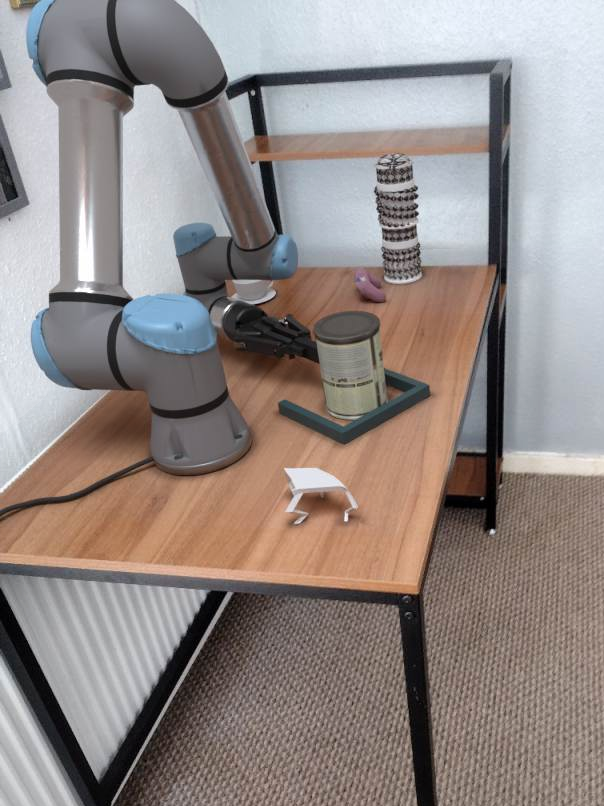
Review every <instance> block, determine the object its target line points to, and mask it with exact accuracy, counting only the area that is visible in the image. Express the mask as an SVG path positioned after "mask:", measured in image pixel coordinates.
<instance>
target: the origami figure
mask: <svg viewBox="0 0 604 806" xmlns="http://www.w3.org/2000/svg"><path fill="white" fill-rule="evenodd" d="M283 470H284V474H285V480H286V482H287V485H288V487H289V489H290V490H291V493H292V499H291V500H290V503H289V504H288V506H287V508H286V509H285V511H284V513H285V514H292V515H293V514H294V515H300V516H299V517H298V518H297V519H296V520H295V521H294V522H293V525H299V524H301V523H302V522H303V521H304V520H305V519H306V517H307V516H308V515H309V513H308V512H306V511H302V510H299V509H295V508H296V507H297V505H298V504H299V502H300V500H301V498H302V496H303V495H304V494H307V493H308V494H309V493H319V496H320V498H322V499H324V498H325V495H324V493H325V492H336V491H337V492H338V491H339V492H340V491H344V493H345V495H346V496H347V499H348V500H349V502H350V505H351V507H349V508H347V509H346V510H344V520H343V521H344V522H346V523H347V522H349V513H351V512H353V511H355V510H356V509H358V507H359V505H358V504H357V502H356V499H355V498H354V497H353V496H354V495H352V493H351V492H350V491H349V488H348V487H347V486H346V485H344V484H343V483H342V482H341V481H340V480H339V478H337V477H336V476H334V475H333V474H330V473H329V472H327V471H324V470H323V469H320V468H319V467H283Z"/></svg>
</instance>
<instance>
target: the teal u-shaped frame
mask: <svg viewBox="0 0 604 806" xmlns="http://www.w3.org/2000/svg"><path fill="white" fill-rule="evenodd" d="M384 374H385V384H386V386H390V387H392V388H394V389H397V390H399V391H402V393H401V394H399V395H398V396H396V397H394V398H392V399H390V400H388V402H387V403H385V404H383V405H381V406H380V407H378V408H376V409H374V410H372V411H371V412H369V413H367V414H365V415H363V416H361V417H360V418H358V419H356V420H351V422H349V423H347V424H345V425H341V424H340V423H337V422H335V421H333V420H331V419H329V418H326V417H325V416H322V415H320V414H318V413H315V412H313V411H312V410H309V409H307V408H305V407H302V406H300V405H298V404H297V403H294V402H292V401H290V400H287V399H285V398H284V399H282V400H280V401H278V402H277V406H278V412H279V414H280V415H282V416H284V417H286V418H288V419H291V420H292V421H294V422H297V423H299V424H300V425H303V426H305V427H306V428H309V429H311V430H313V431H316V432H317V433H319V434H321V435H323V436H325V437H327V438H330V439H332V440H334V441H336V442H338V443H340V444H342V445H346V444H349V442H352V441H353V440H355V439H357V438H359V437H360V436H362V435H363V434H366V433H367V432H369V431H371V430H373V429H374V428H376V427H378V426H380V425H381V424H383V423H385V422H387V421H388V420H391V419H392V418H393V417H396V416H397V415H399V414H400V413H403V412H404V411H406V410H408V409H409V408H412V407H414V406H415V405H417V404H418V403H420V402H422V401H424V400H425V399H427V398H429V397H430V396H431V389H430V384H429V383H426V382H423V381H420V380H418V379H416V378H415V379H414V378H412V377H409V376H407V375H404V374H402V373H398V372H397V371H394V370H391V369H388V368H385V367H384Z"/></svg>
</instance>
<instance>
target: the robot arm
mask: <svg viewBox="0 0 604 806" xmlns="http://www.w3.org/2000/svg"><path fill="white" fill-rule="evenodd" d="M25 41H26V49H27V55H28V58H29V59H30V60H32V66H31V67H32V69H33V71H34V73H35V75H36V76H37V78H38V79H39V80H40V82H42V84H43V85H44V86H45V87H46V90H45V91H46V94H47V96H48V97H49V98H50V99H51V100H52V101H53V103H54V104H55V105H56V106H57V108H58V110H57V112H58V202H59V203H58V205H59V212H58V213H59V281H58V283H57V284H56V285H55V286H54V287H52V288H51V289H50V290H49V291H48V307H45V308H44V309H41V310H40V311H39V312H37V314H36V315H35V319H34V320H33V321H32V322H31V327H30V345H31V350H32V353H33V356H34V358H35V361H36V363H37V366H38V367H39V369H40V370H41V371H42V372H43V373H44V375H45V377H46V378H48V379H49V380H50V381H51V382H52V383H54V384H55V385H56V386H60V387H63V388H67V389H77V390H81V391H93V390H96V391H97V390H98V391H123V392H124V391H125V392H126V391H129V392H130V391H131V392H144V393H145V395H146V398H147V401H148V404H149V405H148V406H149V408H150V411H151V425H150V440H149V441H150V442H149V443H150V444H149V446H150V454H151V456H148V457H147V458H144V459H142V460H140V461H138V462H136V463H134V464H131V465H129V466H126V467H125V468H123V469H121V470H119V471H116V472H114V473H112V474H110V475H108V476H105V477H104V478H102V479H100V480H98V481H96V482H95V483H93V484H91V485H89V486H87V487H85V488H83V489H81V490H79V491H76V492H73V493H71V494H70V493H69V494H67V495H61V496H49V497H48V496H47V497H39V498H35V499H30V500H26V501H23V502H19V503H15V504H12V505H9V506H5V507H4V508H2V509H0V518H1V517H2V516H4V515H5V514H8V513H10V512H12V511H15V510H19V509H23V508H26V507H30V506H34V505H38V504H47V503H59V502H65V501H66V502H67V501H71V500H74V499H77V498H79V497H82V496H84V495H86V494H88V493H90V492H92V491H94V490H95V489H98V488H99V487H102V486H103V485H105V484H107V483H109V482H111V481H113V480H115V479H117V478H120V477H122V476H123V475H125V474H128V473H130V472H132V471H134V470H137V469H138V468H141V467H143V466H145V465H147V464H149V463H154V465H155V466H156V467H157V469H159V470H161V471H163V472H165V473H167V474H172V475H176V476H177V475H178V476H195V475H203V474H207V473H212V472H215V471H219V470H221V469H223V468H226V467H229V466H230V465H232V464H233V463H236V462H237V461H239V459H241V458H242V457H244V455H246V453H247V452H248V451H249V450H250V449H251V446H252V442H253V438H252V432H251V429H250V426H249V424H248V423H247V421H246V419H245V418H244V416H243V415H242V412H240V409H239V408H238V407H237V405H236V403H235V401H233V398H231V396H230V392H229V388H228V384H227V379H226V376H225V375H226V374H225V370H224V365H223V361H222V357H221V353H220V352H221V351H220V348H219V344H218V337H222V338H223V339H226V340H229V341H231V342H232V343H234V347H235V351H236V352H239V353H240V352H241V353H242V352H245V353H252V354H257V355H262V356H265V357H271V358H275V359H283V358H284V357H285V355H287V356H288V360H291V361H292V360H295V359H296V357H298V358H300V359H305V360H306V359H307V360H308V361H311V362H313V363H315V364H318V365H320V364H319V358H318V352H317V346H316V340H313V338H312V332H311V329H309V328H308V327H306V326H305V325H304V324H302V323H301V322H300V321H299V320H297V319H296V318H294V315H293V313H287V314H286V315H285V317H283V318H282V319H279V318H278V317H277V316H269V315H268V314H267V313H266V311H265V310H264V309H262V308H261V307H259V306H258V305H256V304H249V303H246V302H245V301H242V300H239V299H236V298H233V297H232V296H230V295H229V294H228V289H227V286H226V285H227V282H226V281H232V280H268V281H270V282H272V281H281V280H289V279H291V278H293V277H294V276H295V274H296V272H297V269H298V264H299V252H298V246H297V242H296V241H295V239H294V238H292V236H291V235H287V234H286V235H285V234H283V233H281V234H278V232H277V230H276V228H275V225H274V223H273V220H272V217H271V215H270V211H269V208H268V207H267V203H266V200H265V198H264V195H263V192H262V190H261V187H260V184H259V181H258V179H257V176H256V173H255V170H254V168H253V164H252V162H251V159H250V155H249V153H248V150H247V149H246V145H245V142H244V139H243V137H242V134H241V131H240V128H239V125H238V123H237V120H236V117H235V114H234V111H233V109H232V105H231V103H230V100H229V98H228V95H227V92H226V91H227V89H228V86H229V77H228V74H227V71H226V69H225V65H224V63H223V61H222V58H221V56H220V54H219V52H218V51H217V49H216V47H215V45H214V42H212V40H211V38H210V37H209V36H208V34H207V33H206V31H205V29H204V28H203V27H202V25H200V24H199V22H198V21H197V20H196V19H195V17H194V16H193V15H192V14H191V13H190V12H189V11H188V10H187V9H186V8H184V6H182V5H181V4H180V3H179V2H177V0H40V1H38V2H37V3H36V4H35V5H34V7H33V8H32V10H31V12H30V13H29V17H28V19H27V24H26V31H25ZM149 85H153V86H155V87H157V88H158V89H159V90H160V91H161V93H162V96H163V98H164V100H165V103H166V104H167V105H168V106H169V107H170V108H172V109H175V110H177V112H178V114H179V117H180V119H181V121H182V124H183V126H184V129H185V131H186V133H187V135H188V138H189V140H190V143H191V145H192V148H193V150H194V152H195V155H196V157H197V159H198V161H199V163H200V166H201V168H202V170H203V173H204V176H205V178H206V180H207V182H208V185H209V187H210V189H211V192H212V194H213V197H214V198H215V201H216V203H217V205H218V208H219V211H220V213H221V214H222V217H223V220H224V222H225V224H226V226H227V230H228V231H229V234H230V236H229V235H228V236H227V235H226V236H225V235H224V236H223V235H222V236H217V232H215V231H216V230H215V228H214V227H213V225H212V224H211V223H208V222H207V223H206V222H193V223H187V224H184V225H181V226H180V227H178V228H176V230H175V231H174V232H173V236H172V239H173V243H174V249H175V257H176V258H177V263H178V266H179V269H180V273H181V277H182V281H183V284H184V292H183V294H179V293H170V292H169V293H168V292H167V293H165V292H164V293H163V292H161V293H156V294H155V295H150V294H148V295H143V296H139V297H136V298H134V297H132V295H130V293H129V292H128V291H127V290H126V289H125V287H124V253H123V252H124V140H123V139H124V117H125V116H127V114H128V113H130V112H131V111H133V109H134V106H135V87H139V86H149Z"/></svg>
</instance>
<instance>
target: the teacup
mask: <svg viewBox="0 0 604 806" xmlns="http://www.w3.org/2000/svg"><path fill="white" fill-rule="evenodd" d="M231 281H232V284H233V287H234V289H235V293H234V294H233V295H231V297H233V298H236V299H239V300H242V301H245V302H246V303H249V304H252V305H257V304H262V303H264V302H267V301H270V300H271V299H272V298H274V297H275V296H276V293H277V292H276V290H275V289H273V288H271V287H273V285H274V281H275V280H273V281H270V283H269V284H268V281H269V280H231Z"/></svg>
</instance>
